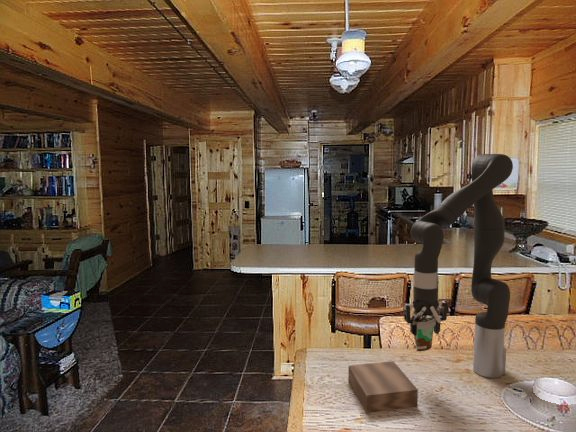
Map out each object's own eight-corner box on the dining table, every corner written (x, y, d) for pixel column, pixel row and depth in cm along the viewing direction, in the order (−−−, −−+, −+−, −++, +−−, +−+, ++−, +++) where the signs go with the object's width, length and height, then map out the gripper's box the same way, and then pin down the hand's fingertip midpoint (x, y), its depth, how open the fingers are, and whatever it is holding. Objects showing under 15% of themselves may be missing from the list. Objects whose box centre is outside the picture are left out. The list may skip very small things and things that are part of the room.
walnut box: (393, 377, 143) (393, 361, 142) (417, 408, 126) (417, 389, 125) (348, 382, 141) (348, 365, 140) (366, 414, 123) (366, 395, 122)
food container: (438, 354, 128) (439, 323, 127) (417, 353, 129) (417, 322, 128) (432, 337, 140) (433, 308, 139) (413, 336, 141) (414, 308, 140)
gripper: (441, 279, 136) (440, 327, 139) (399, 282, 135) (399, 330, 137) (453, 286, 129) (452, 337, 131) (408, 289, 127) (408, 340, 130)
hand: (425, 333), depth 134 cm, fingers closed on food container, 7 cm apart
